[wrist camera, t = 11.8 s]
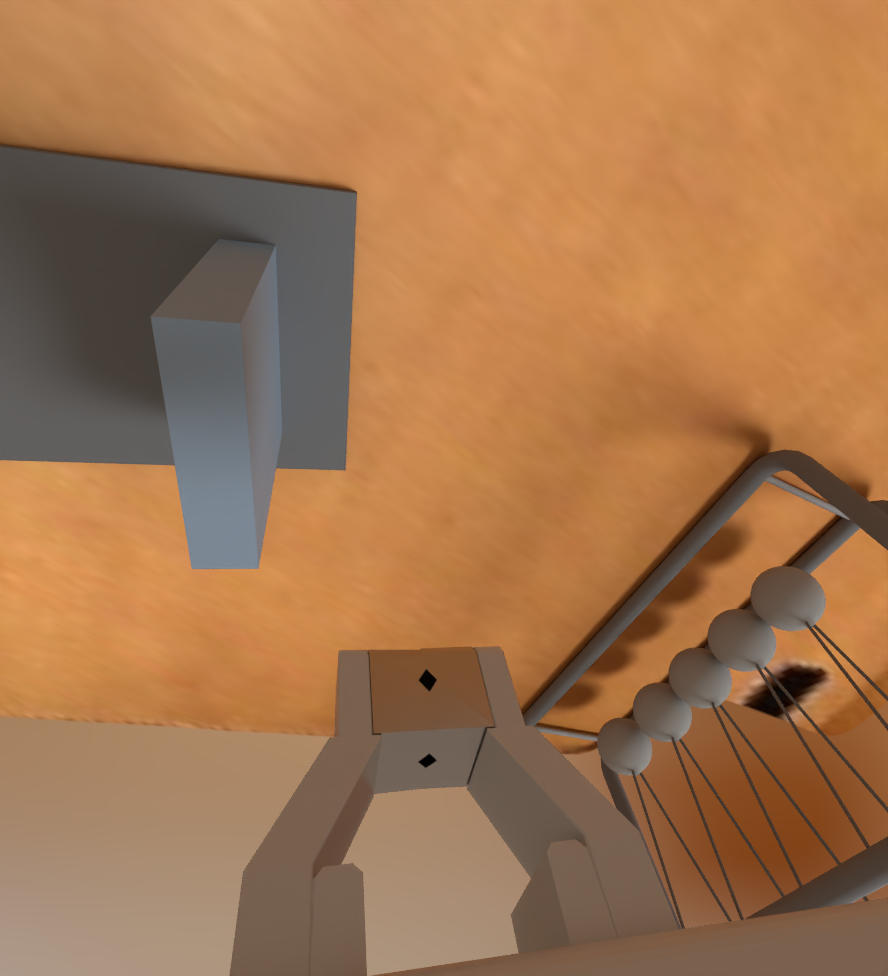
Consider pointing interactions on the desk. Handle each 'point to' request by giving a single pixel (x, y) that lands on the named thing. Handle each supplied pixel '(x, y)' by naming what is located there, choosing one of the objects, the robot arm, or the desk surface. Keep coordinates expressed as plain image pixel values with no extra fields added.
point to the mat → (156, 302)
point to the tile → (223, 399)
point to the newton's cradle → (743, 647)
